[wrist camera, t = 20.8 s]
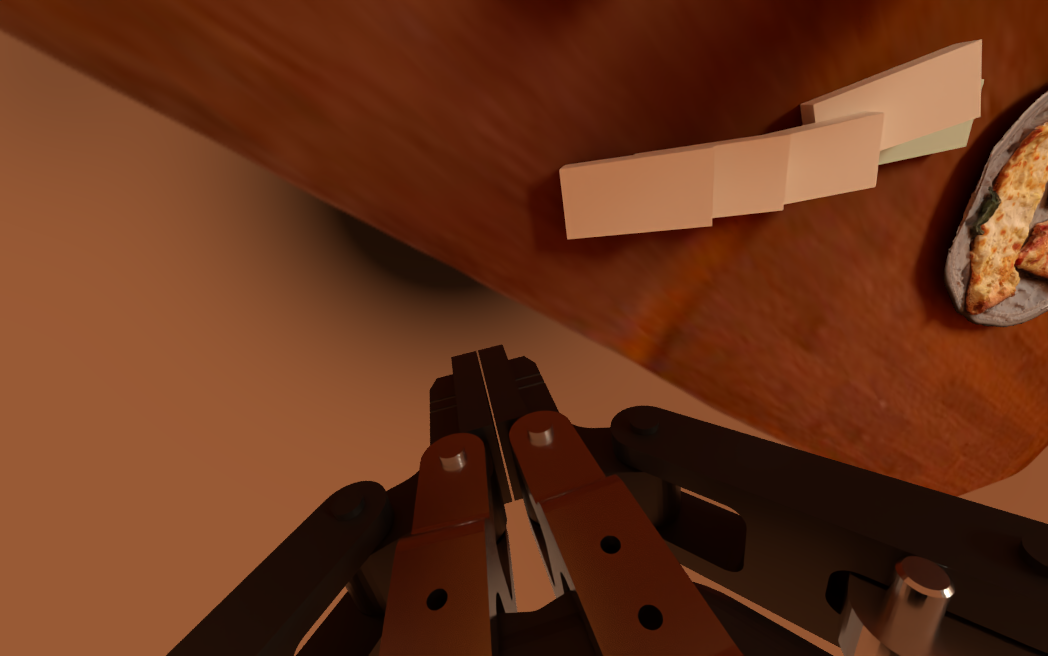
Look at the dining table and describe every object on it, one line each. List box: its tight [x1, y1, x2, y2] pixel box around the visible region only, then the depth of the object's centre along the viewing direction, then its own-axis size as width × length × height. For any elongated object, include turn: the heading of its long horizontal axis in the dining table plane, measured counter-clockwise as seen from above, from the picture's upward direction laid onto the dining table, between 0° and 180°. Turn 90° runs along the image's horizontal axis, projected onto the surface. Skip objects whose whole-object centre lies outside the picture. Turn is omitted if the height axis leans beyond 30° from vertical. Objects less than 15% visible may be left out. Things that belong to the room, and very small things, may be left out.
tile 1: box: [559, 144, 715, 239], centre depth 30 cm, size 2×5×10 cm
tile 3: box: [764, 111, 884, 204], centre depth 32 cm, size 2×5×10 cm
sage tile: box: [878, 79, 984, 165], centre depth 36 cm, size 2×5×10 cm
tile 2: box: [634, 133, 791, 218], centre depth 32 cm, size 2×5×10 cm
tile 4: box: [800, 39, 982, 151], centre depth 32 cm, size 2×5×10 cm
